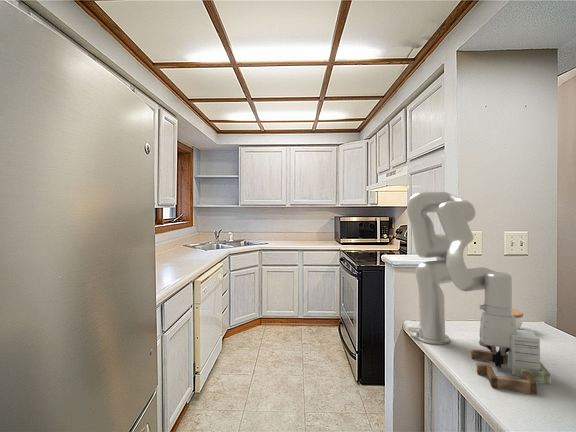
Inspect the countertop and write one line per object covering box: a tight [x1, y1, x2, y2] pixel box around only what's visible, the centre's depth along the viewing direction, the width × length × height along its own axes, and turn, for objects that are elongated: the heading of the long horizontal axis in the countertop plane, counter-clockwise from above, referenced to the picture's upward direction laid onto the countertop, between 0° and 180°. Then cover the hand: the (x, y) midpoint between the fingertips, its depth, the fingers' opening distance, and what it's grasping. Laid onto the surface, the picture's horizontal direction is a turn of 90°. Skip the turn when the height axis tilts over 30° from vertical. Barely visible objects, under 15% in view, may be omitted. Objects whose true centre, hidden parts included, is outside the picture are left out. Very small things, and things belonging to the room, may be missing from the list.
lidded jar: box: [512, 308, 524, 330], centre depth 142 cm, size 11×11×9 cm
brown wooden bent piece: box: [486, 366, 538, 395], centre depth 98 cm, size 11×8×3 cm
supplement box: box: [507, 329, 541, 377], centre depth 105 cm, size 7×7×13 cm
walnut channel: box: [470, 348, 552, 385], centre depth 107 cm, size 19×13×3 cm
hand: (497, 365), depth 108 cm, fingers closed
